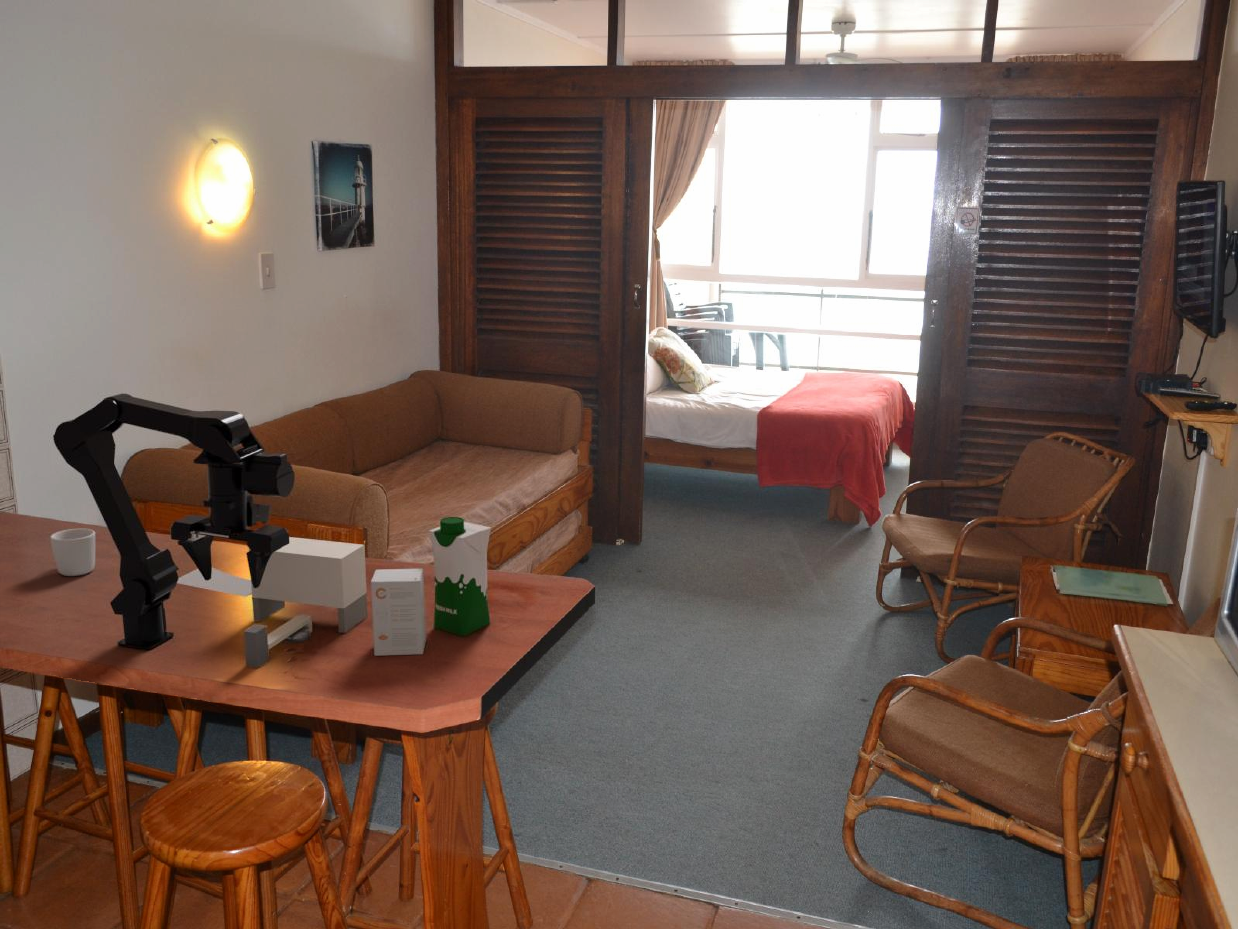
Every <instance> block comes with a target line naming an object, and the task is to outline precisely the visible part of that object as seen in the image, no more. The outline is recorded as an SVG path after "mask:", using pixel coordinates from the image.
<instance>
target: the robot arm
mask: <svg viewBox="0 0 1238 929" xmlns="http://www.w3.org/2000/svg"><path fill="white" fill-rule="evenodd" d="M124 424H126V425H131V426H135V427H139V428H143V429H147V430H151V431H156V432H160V433H164V434H169V435H173V436H175V437H176V436H178V437H180V438H182V439H186V440H187V441H188V442H189V443H190V444H192V445H193V446H194V447H197V448H198V449H201V450H202V451H201V452H200V454H199V455H197V457H195V458H193V463H194V464H198V465H205V466H206V470H207V471H206V472H207V489H208V492H207V493H208V498H206V499H203V500H202V501H203V507H205V508H206V507H207V508H208V509H209V510H208V511H209V516H204V515H197V514H190V515H188V516H185V517H182V518H180V519H178V520H175V521H173V523H172V524H171V525H170V529H169V530H170V532H169V533H170V539H171V540H173V541H174V540H175V541H177V545H178V546H181V547H182V548H183V549H184V551H185V552H186V554H187V555H188V556H189V557H190V559H191V560H192V562H193V563H194V565H195V566H196V569H199V571H200V573H201V574H202V576H203V577H204V579H205V580H206V581H208V580H210V579H211V574H212V567H213V566H212V544H213V541H214V538H220V539H226V540H227V539H229V540H232V541H233V540H235V541H239V542H240V541H241V542H246V546H247V548H248V551H246V553H245V554H246V558H247V564H248V570H249V575H250V580H251V581H252V584H253V587H254V588H258V587H259V586H260V583H261V580H262V577H263V574H264V571H265V568H266V566H267V563H268V561H269V559H270V557H271V555H272V554H273V552H275V551H277V550H279V549H281V548H282V547H283V546H285V545H287V544H289V537H290V533H289V531H288V529H287V528H286V527H284V526H283V527H282V526H276V525H269V520H270V514H271V508H272V506H271V505H266V504H261V503H256V502H254V497H253V496H252V495H255V496H256V495H257V496H265V497H266V496H267V497H277V498H286V497H288V496H289V495H290V494H291V493H292V490H293V488H294V484H295V471H294V470H293V466H292V464H291V463H290V462H289V461H288V455H287V453H280V452H279V453H278V452H277V453H268V452H267V453H265V451H266V450H265V448H264V447H263V445H262V444H261V442H260V441H259V439H258V438H257V437H256V435H255V434H254V433H253V431H252V429H251V428H250V427H249V422H248V421H247V420H246V418H245V416H244V415H243V414H242V413H240V412H238V411H231V410H200V411H199V410H192V409H188V408H183V407H179V406H174V405H170V404H165V403H161V402H156V401H152V400H148V399H143V398H140V397H136V396H133V395H131V394H128V393H124V392H123V393H119V394H115V395H110V396H108V397H107V396H106V397H104V398H103V400H101V401H100V402H98V403H97V404H96V405H94V407H92V408H90V409H88V410H87V411H86V412H84V413H81V415H79V416H77V417H75V418H74V419H70V420H67V421H64V422H63V421H62V422H61V423H60V424H58V426H57V427H56V428H55V432H54V434H53V436H52V438H53V439H52V440H53V444H54V446H55V447H56V449H57V450H58V452H59V454H60V455H61V457H62V458H63V460H64V461H65V462H66V464H67V465H68V466H70V467H71V468H73V469H74V470H75V471H76V472H78V473H79V474H80V475H81V476H82V477H83V478H84V480H85V482H86V485H87V486H88V489H89V491H90V493H91V496H92V498H93V500H94V502H95V503H96V505H97V508H98V510H99V512H100V514H101V517H102V518H103V522H104V524H105V525H106V527H107V530H108V531H109V534H110V536H111V538H112V540H113V542H114V544H115V547H116V549H117V551H118V553H119V556H120V562H119V578H120V581H121V586H122V590H121V591H119V593H118V594H116V596H115V597H114V598H113V599H112V600H111V601H109V602H110V603H109V604H110V606H111V608H112V611H113V613H114V614H115V615H117V616H122V626H123V635H124V638H122V639H120V640H118V641H117V642H116V643H117V646H119V647H127V648H135V649H141V650H151V649H154V648H156V647H157V646H158V645H161V644H162V643H163V642H165V641H167V640H169V639H170V638H173V637H174V636H175V633H174V632H172V631H167V620H166V619H167V618H166V617H167V616H166V610H165V607H164V602H165V601H167V600H169V599H170V598H171V595H172V592H173V591H174V589H175V588H176V586H177V584H178V583H177V581H178V578H179V574H178V570H179V569H180V568H179V567H178V566H177V565H176V562H174V560H173V557H172V553H171V551H170V550H169V548H168V547H167V548H164V549H162V550H160V549H159V548H158V547H156V546H155V545H154V544H153V543H152V542H151V541H150V539H149V536H148V534H147V532H146V530H145V528H144V525H143V523H142V521H141V519H140V517H139V514H138V513H137V510H136V508H135V506H134V504H133V501H132V500H131V498H130V496H129V493H128V491H127V489H126V487H125V485H124V482H123V480H122V478H121V476H120V474H119V472H118V469H117V467H116V465H115V457H116V456H115V455H116V442H115V439H114V434H115V433H116V431H118V430H119V429H121V428H122V427H123V425H124ZM241 446H242V448H238V447H241ZM236 448H238V449H237V450H236ZM248 493H249V494H248ZM257 523H261V524H263V526H262V527H259V528H257V529H249V528H250V527H251V528H252V527H253V528H254V527H255V526H257V525H258V524H257ZM249 549H250V550H251V551H249Z"/></svg>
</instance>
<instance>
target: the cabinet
mask: <svg viewBox="0 0 1238 929" xmlns="http://www.w3.org/2000/svg"><path fill="white" fill-rule="evenodd" d="M249 551H251V550H250V549H249V548H248V552H249ZM365 551H366V549H365V544H360V543H359V544H358V543H350V542H349V543H348V542H340V541H332V540H331V541H330V540H324V539H322V540H321V539H312V538H302V537H291V536H289V544H287V545H285V546H283V547H282V548H281V549H279V550H277V551H275V552H273V554H272V555H271V557H270V559H269V561H268V563H267V566H266V568H265V571H264V574H263V577H262V580H261V583H260V586H259V587H258V588H254V587H253V584H252V581H251V589H252V594H251V599H252V601H251V602H252V603H251V604H252V614H253V622H258V623H260V622H262V621H263V620H265V619H266V618H269V617H271V615H273V614H275V613H276V612H278V611H279V610H282V609H283V608H285V607H286V602H288V603H294V604H304V605H305V604H307V605H310V606H311V605H313V606H321V607H327V608H330V607H331V608H336V609H337V616H338V617H337V618H338V619H337V621H338V633H344V634H346V633H347V632H349V631H350V630H351V629H352V628H354V627H355V626H356V625H359V624H360V623H361V622H362V621H363V620H365V619H366V618H368V616H369V615H368V599H367V598H368V597H367V596H368V595H367V594H368V592H367V572H366V570H367V569H366V554H365V553H366V552H365Z"/></svg>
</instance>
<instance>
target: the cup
mask: <svg viewBox="0 0 1238 929" xmlns="http://www.w3.org/2000/svg"><path fill="white" fill-rule="evenodd" d="M49 541H50V544H51V548H52V553H53V557H54V560H55V561H54V562H55V565H56V569H57V571H58V573H59V574H61V575H62V576H66V577H75V576H76V577H77V576H78V577H79V576H83V575H86V574H88V573H91V572H92V571H93V570H94V569H95V565H96V531H94V530H93V529H91V528H70V529H65V530H64V529H63V530H60V531H57V532H55V533H52V534H51V535H50V537H49Z"/></svg>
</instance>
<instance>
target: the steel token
mask: <svg viewBox="0 0 1238 929" xmlns="http://www.w3.org/2000/svg"><path fill="white" fill-rule="evenodd" d="M310 638H311V633H310V628H309V627H306V626H303V627H301V628H300V629H298V630H297V631H295V632H294V633H292V634H291V635H290V636H288V637H287V638H285V639H284V640H283V642H286V643H290V644H291V643H292V644H298V643H303V642H305V641H308V640H309V639H310Z"/></svg>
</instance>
